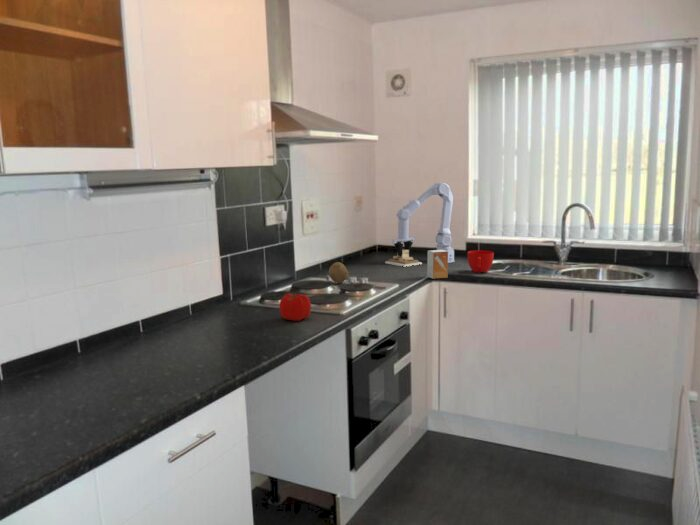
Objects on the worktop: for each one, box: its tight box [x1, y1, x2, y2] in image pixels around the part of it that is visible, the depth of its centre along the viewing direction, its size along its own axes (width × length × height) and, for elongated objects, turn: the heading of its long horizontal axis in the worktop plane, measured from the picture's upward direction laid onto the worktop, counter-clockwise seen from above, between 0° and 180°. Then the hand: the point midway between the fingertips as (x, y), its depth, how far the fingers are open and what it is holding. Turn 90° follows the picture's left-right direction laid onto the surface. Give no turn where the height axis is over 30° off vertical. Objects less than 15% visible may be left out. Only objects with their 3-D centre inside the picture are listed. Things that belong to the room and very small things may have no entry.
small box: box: [426, 249, 449, 280], centre depth 278 cm, size 8×6×13 cm
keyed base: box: [384, 258, 423, 268], centre depth 319 cm, size 16×13×2 cm
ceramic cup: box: [467, 249, 495, 274], centre depth 289 cm, size 13×17×10 cm
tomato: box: [278, 293, 312, 322], centre depth 206 cm, size 11×12×9 cm
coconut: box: [328, 261, 350, 284], centre depth 268 cm, size 9×9×10 cm
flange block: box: [392, 248, 414, 261], centre depth 319 cm, size 10×6×5 cm, turn 35°
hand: (403, 255), depth 318 cm, fingers closed on flange block, 5 cm apart
